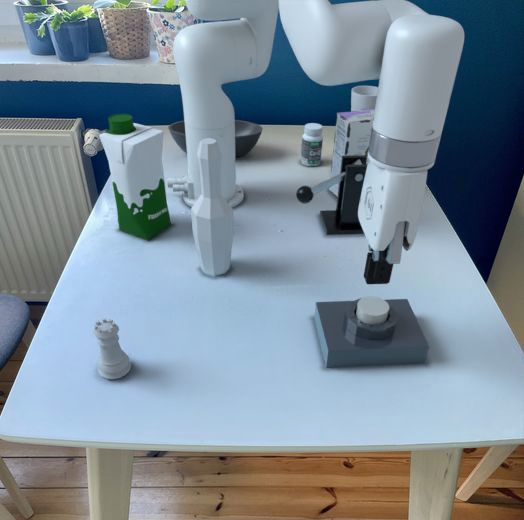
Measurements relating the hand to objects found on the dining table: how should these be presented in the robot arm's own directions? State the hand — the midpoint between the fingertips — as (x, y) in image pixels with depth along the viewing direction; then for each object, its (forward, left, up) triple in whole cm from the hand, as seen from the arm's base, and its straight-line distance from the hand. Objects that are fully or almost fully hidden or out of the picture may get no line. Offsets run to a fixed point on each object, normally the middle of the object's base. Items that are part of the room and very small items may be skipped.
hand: (376, 280), depth 73 cm
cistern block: (0, 0, -10) cm, 10 cm away
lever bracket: (+4, +34, -10) cm, 35 cm away
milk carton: (-35, +35, -11) cm, 50 cm away
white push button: (0, 0, -6) cm, 6 cm away
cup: (+16, +77, -11) cm, 79 cm away
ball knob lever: (0, +34, -3) cm, 34 cm away
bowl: (-21, +70, -11) cm, 73 cm away
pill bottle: (+1, +64, -11) cm, 65 cm away
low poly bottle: (-22, +20, -11) cm, 31 cm away
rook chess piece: (-36, -4, -11) cm, 38 cm away
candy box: (+10, +48, -11) cm, 50 cm away
